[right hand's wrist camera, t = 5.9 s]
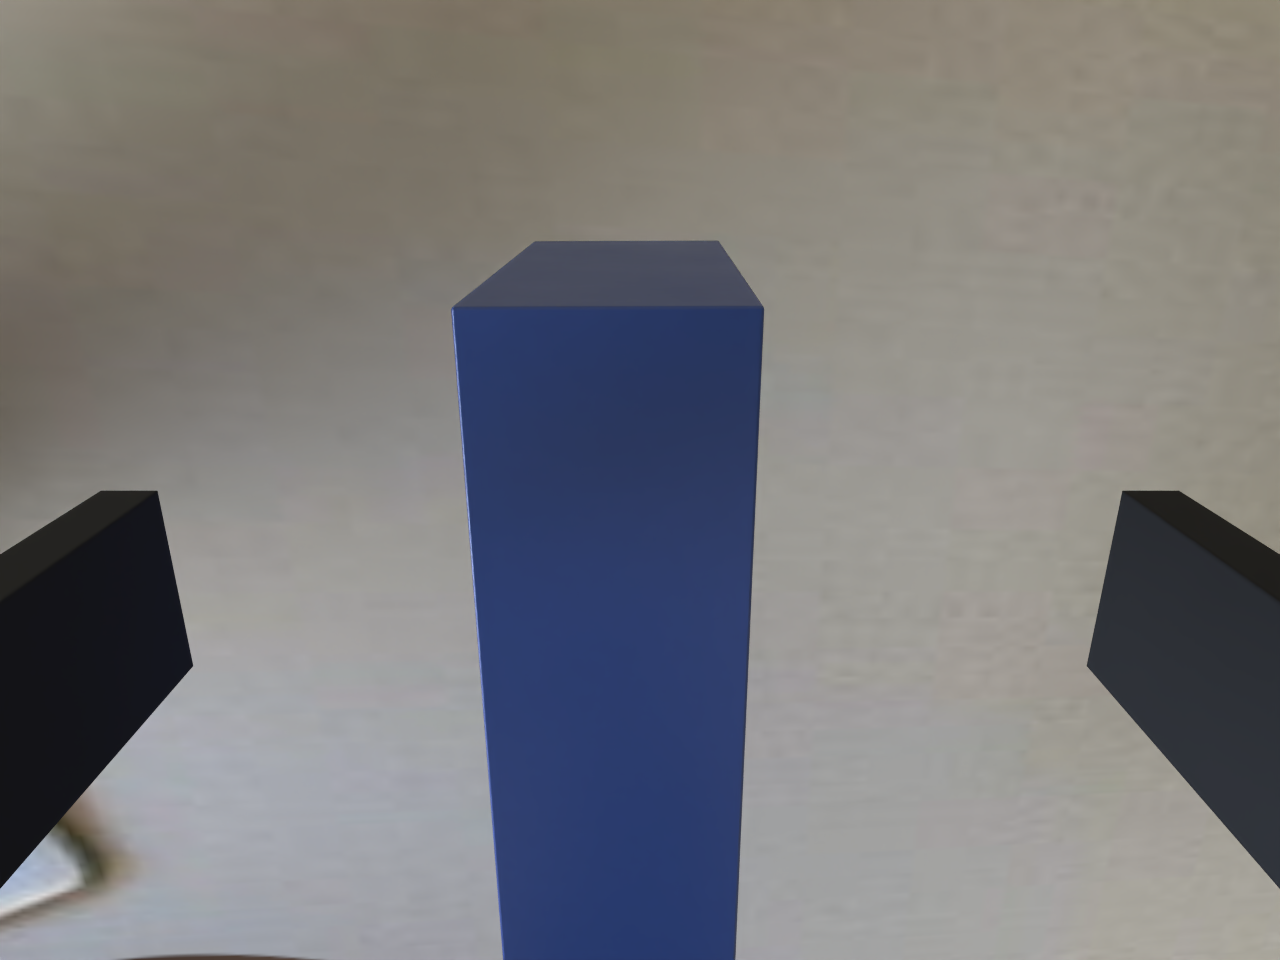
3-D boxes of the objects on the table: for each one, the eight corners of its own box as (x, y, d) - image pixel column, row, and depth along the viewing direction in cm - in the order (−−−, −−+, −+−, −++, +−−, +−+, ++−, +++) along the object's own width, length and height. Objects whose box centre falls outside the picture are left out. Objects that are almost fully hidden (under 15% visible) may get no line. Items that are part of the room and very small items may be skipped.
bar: (533, 240, 22) (450, 306, 13) (719, 240, 22) (764, 306, 13) (568, 1012, 31) (534, 1360, 22) (699, 1013, 31) (717, 1364, 22)
